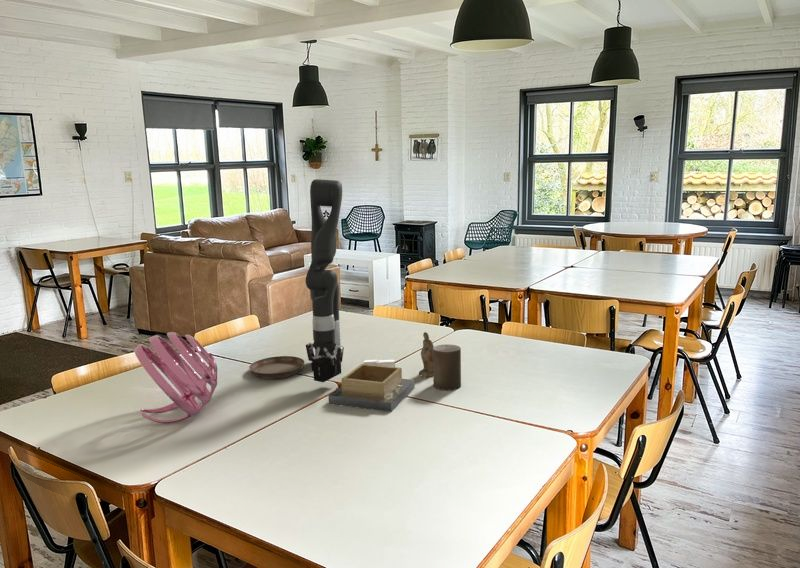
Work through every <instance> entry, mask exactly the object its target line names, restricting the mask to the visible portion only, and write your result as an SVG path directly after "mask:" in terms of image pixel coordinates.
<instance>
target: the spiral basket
mask: <svg viewBox="0 0 800 568" xmlns="http://www.w3.org/2000/svg"><path fill="white" fill-rule="evenodd" d="M166 336H167V337H168V339H169V340H170V342H171V344H172V345H173V346H174V347H175V348H173V346H172V345H170V343H168V341H166V340H165V339H164V338H163V337H161V336H160V335H158V334H157V335H152V336H151V337H149V338H148V341H149V344H150V345H151V347H152V348H153V350H154V351H155V352H156V353H155V352H154V351H153V350H152V349H151V348H149V347H148V346H146V345H145V344H142V343H140V344H138V345H137V346H136V347H135V348H134V355H135V357H136V358H137V360H138V362H139V363H140V365H141V366H142V367H143V369H144V370H145V371H146V373H147V374H148V375H149V376H150V377H151V379H152V380H153V382H154V383H155V384H156V385H157V386H158V387H159V388H160V389H161V390H162V392H163V393H164V394H165V395H166V396H167V397H168V398H169V399H170V400H171V401H172V403H170V404H168V405H164V406H162V407H158V408H154V409H153V408H151V409H150V408H148V409H146V408H145V409H144V408H141V409H140V410H139V412H141V413H140V416H142V417H143V418H144V419H147V420H149V421H151V422H155V423H158V424H174V423H180V422H183V421H185V420H187V419H191V418H192V417H195V416H196V415H198V414H199V413H200V412H201V410H203V409H204V408H205V406H206V405H208V404H209V403H210V402H211V400H212V397H213V395H214V392H215V389H216V388H217V386H218V365H217V362H216V360H215V357H214V356H213V353H212V352H208V351H207V350H206V349H205V348H204V346H203V345H202V344H201V343H200V342H199V341H198V340H197V339H196V338H195V337H194V336H192V335H190V334H184V337H185V339H186V340H187V341H188V342H189V343H188V342H186V341H185V340H184V338H182V337H181V335H180V334H178V333H176V332H174V331H169V332H167V333H166ZM189 344H190V345H189ZM191 346H192V347H193V348H192V347H191ZM176 350H177V351H176ZM178 352H179V353H178ZM204 361H205V362H206V363H205V362H204ZM155 366H156V367H157V368H156V367H155ZM157 369H159V370H157ZM160 372H161V373H162V374H163V375H164V376H165V377H166V378H167V379H168V380H169V382H170V383H171V384H172V385H173V386H174V387H175V389H176V390H177V391H178V392H177V391H176V390H175V389H174V388H173V387H172V386H171V384H170V383H169V382H168V381H167V380H166V379H165V378H164V376H162V374H161V373H160ZM207 384H208V385H209V386H210V387H211V388H210V390H209V388H208V387H207ZM179 393H180V394H179ZM196 398H197V399H198V400H199V401H200V402H201V404H200V405H199V404H198V402H197V400H196ZM177 408H180V409H181V410H182V411H183V412H185V413H186V415H185V416H183V417H182V416H181V417H178V418H175V419H158V418H154V417H151V416H149V415H147V414H145V413H149V414H157V413H164V412H168V411H172V410H175V409H177Z"/></svg>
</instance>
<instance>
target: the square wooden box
mask: <svg viewBox="0 0 800 568" xmlns="http://www.w3.org/2000/svg"><path fill="white" fill-rule="evenodd" d="M415 389H416V388H415V379H408V378H403V373H402V367H396V366H395V367H387V366H377V365H367V364H364V363H361V364H360V365H358V366H357V367H355V368H354V369H352V371H350V372H348V374H346V375H344V376H343V377H342V378H341V385H340V386H338V388H336V389H335V390H334V391H332V392H331V393H330V394H328V396H327V397H328V405H332V404H334V406H340V405H342V406H341V407H348V406H349V408H350V406H351V408H356V407H358V408H357V409H364V408H366V409H365V410H372V409H373V410H372V411H380V410H381V411H380V412H382V411H383V412H388V411H389V412H390V413H391V412H393V411H394V410H395V409H396V408H397V407H398V406H399V405H400V404H401V403H402V402H403V401H404V400H405V399H404V398H406V397H407V396H408V395H409V394H410V393H411V392H412V391H413V390H415ZM403 399H404V400H403ZM402 400H403V401H402ZM401 401H402V402H401ZM400 402H401V403H400ZM399 403H400V404H399ZM398 404H399V405H398Z"/></svg>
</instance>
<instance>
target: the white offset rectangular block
mask: <svg viewBox="0 0 800 568" xmlns="http://www.w3.org/2000/svg"><path fill="white" fill-rule="evenodd" d="M363 364H367V365H377V366H387V367H396V360H395V359H364V360H363Z"/></svg>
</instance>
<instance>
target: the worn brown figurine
mask: <svg viewBox="0 0 800 568" xmlns="http://www.w3.org/2000/svg"><path fill="white" fill-rule="evenodd" d="M433 343H434V342H433V341H432V340H431V339H430V337H429V334H428V332H426V331H424V332H423V340H422V348H421V351H420V356H421V360H422V363H423V368H422V369H421V370H419V372H418V376H420V375H422V376H421V377H424V376H425V377H424V378H429V377H432V376H433V347H435V346H434V344H433Z"/></svg>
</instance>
